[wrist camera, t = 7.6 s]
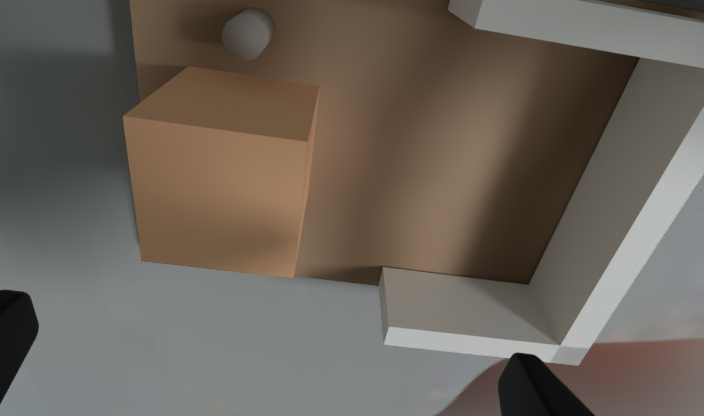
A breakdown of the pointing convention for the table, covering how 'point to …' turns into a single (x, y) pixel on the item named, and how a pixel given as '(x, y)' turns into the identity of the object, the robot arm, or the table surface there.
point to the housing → (576, 194)
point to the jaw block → (222, 170)
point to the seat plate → (410, 124)
